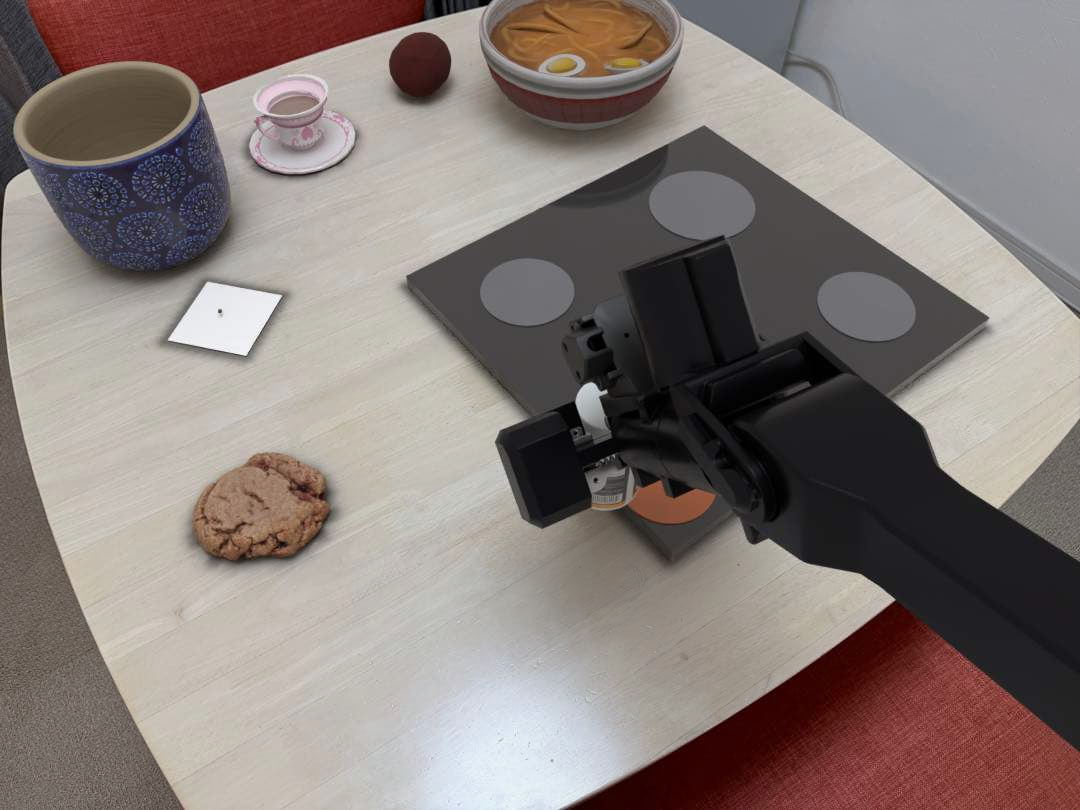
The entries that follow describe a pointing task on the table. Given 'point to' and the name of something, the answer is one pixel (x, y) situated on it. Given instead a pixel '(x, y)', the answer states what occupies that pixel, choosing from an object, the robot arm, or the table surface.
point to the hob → (670, 223)
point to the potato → (420, 64)
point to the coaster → (225, 318)
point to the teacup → (298, 126)
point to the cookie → (261, 508)
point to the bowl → (580, 56)
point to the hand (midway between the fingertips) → (598, 417)
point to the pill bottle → (619, 483)
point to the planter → (128, 163)
